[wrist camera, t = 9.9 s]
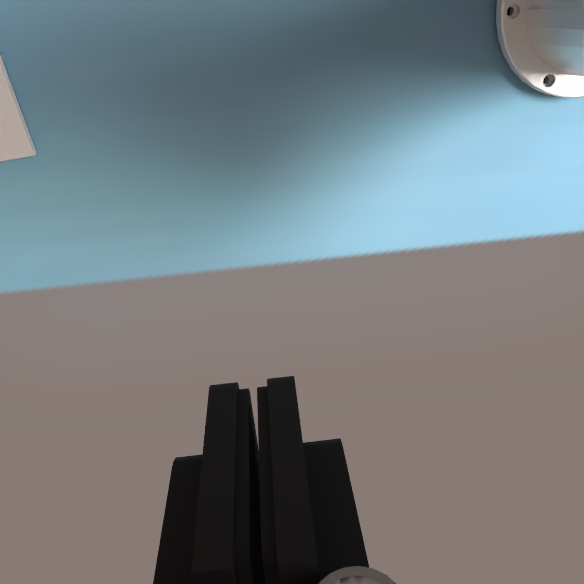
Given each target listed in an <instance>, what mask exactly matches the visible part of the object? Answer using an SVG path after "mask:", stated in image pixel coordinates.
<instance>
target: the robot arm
mask: <svg viewBox="0 0 584 584" xmlns="http://www.w3.org/2000/svg"><path fill="white" fill-rule="evenodd" d="M508 8H510V9H511V12H510V14H509V15H507V10H508ZM496 25H497V35H498V40H499V43H500V46H501V50H502V53H503V55H504V57H505V59H506V61H507V63H508V65H509V66H510V68H511V69H512V71H513V72H514V73H515V74H516V75H517V76H518V77H519V79H520V80H521V81H523V82H524V83H526V84H527V85H529V86H530V87H531V88H533V89H535V90H537V91H540V92H543V93H545V94H548V95H553V96H557V97H563V98H579V97H584V0H497V8H496ZM545 77H546V80H545V82H544V83H543V80H544V78H545ZM267 385H268V386H266V387H258V388H257V401H258V437H259V450H258V443H257V437H256V430H255V424H254V417H253V410H252V403H251V397H250V391H249V389H239V385H238V383H237V382H236V383H227V384H219V385H211V386H210V388H209V396H208V406H207V416H206V426H205V436H204V447H203V455H195V456H187V457H177V458H175V460H174V462H173V466H172V471H171V477H170V483H169V490H168V496H167V502H166V508H165V515H164V520H163V526H162V532H161V538H160V545H159V551H158V557H157V563H156V570H155V576H154V581H153V584H396V583H395V582H394V581H393V580H392V579H391V578H389V577H388V576H387V575H385V574H383V573H381V572H379V571H377V570H375V569H373V568H369V564H368V560H367V555H366V551H365V546H364V541H363V537H362V532H361V528H360V523H359V518H358V515H357V509H356V505H355V500H354V496H353V491H352V487H351V482H350V478H349V473H348V468H347V464H346V459H345V455H344V450H343V446H342V442H341V439H332V440H323V441H315V442H306V443H303V442H302V434H301V426H300V418H299V411H298V403H297V395H296V388H295V380H294V376H289V377H280V378H271V379H267Z"/></svg>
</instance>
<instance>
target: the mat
mask: <svg viewBox="0 0 584 584" xmlns="http://www.w3.org/2000/svg"><path fill="white" fill-rule="evenodd" d="M36 154H37V152H36V150H35V147H34V144H33V142H32V139H31V136H30V134H29V131H28V128H27V125H26V123H25V120H24V117H23V115H22V112H21V109H20V107H19V104H18V101H17V98H16V96H15V93H14V90H13V88H12V85H11V82H10V80H9V77H8V74H7V71H6V69H5V66H4V63H3V61H2V58H1V55H0V161H6V160H12V159H17V158H23V157H29V156H34V155H36Z"/></svg>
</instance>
